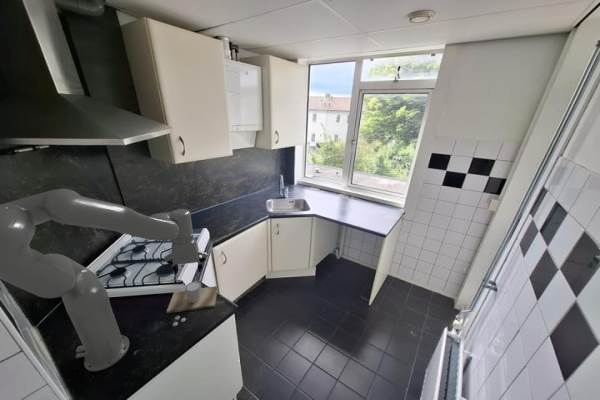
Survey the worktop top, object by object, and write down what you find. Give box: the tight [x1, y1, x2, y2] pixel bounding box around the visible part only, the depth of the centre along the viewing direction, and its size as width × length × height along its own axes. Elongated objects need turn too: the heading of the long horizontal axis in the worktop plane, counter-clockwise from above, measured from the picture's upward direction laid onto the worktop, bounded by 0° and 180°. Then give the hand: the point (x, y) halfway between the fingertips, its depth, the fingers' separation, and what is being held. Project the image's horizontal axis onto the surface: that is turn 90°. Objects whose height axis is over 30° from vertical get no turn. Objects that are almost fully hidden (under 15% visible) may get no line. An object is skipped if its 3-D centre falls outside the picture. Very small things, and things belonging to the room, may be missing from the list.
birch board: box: [166, 285, 219, 314], centre depth 105 cm, size 20×12×1 cm, turn 103°
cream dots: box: [172, 315, 187, 327], centre depth 95 cm, size 5×5×1 cm
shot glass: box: [184, 280, 202, 303], centre depth 104 cm, size 7×7×7 cm
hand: (188, 271), depth 99 cm, fingers open, 9 cm apart
